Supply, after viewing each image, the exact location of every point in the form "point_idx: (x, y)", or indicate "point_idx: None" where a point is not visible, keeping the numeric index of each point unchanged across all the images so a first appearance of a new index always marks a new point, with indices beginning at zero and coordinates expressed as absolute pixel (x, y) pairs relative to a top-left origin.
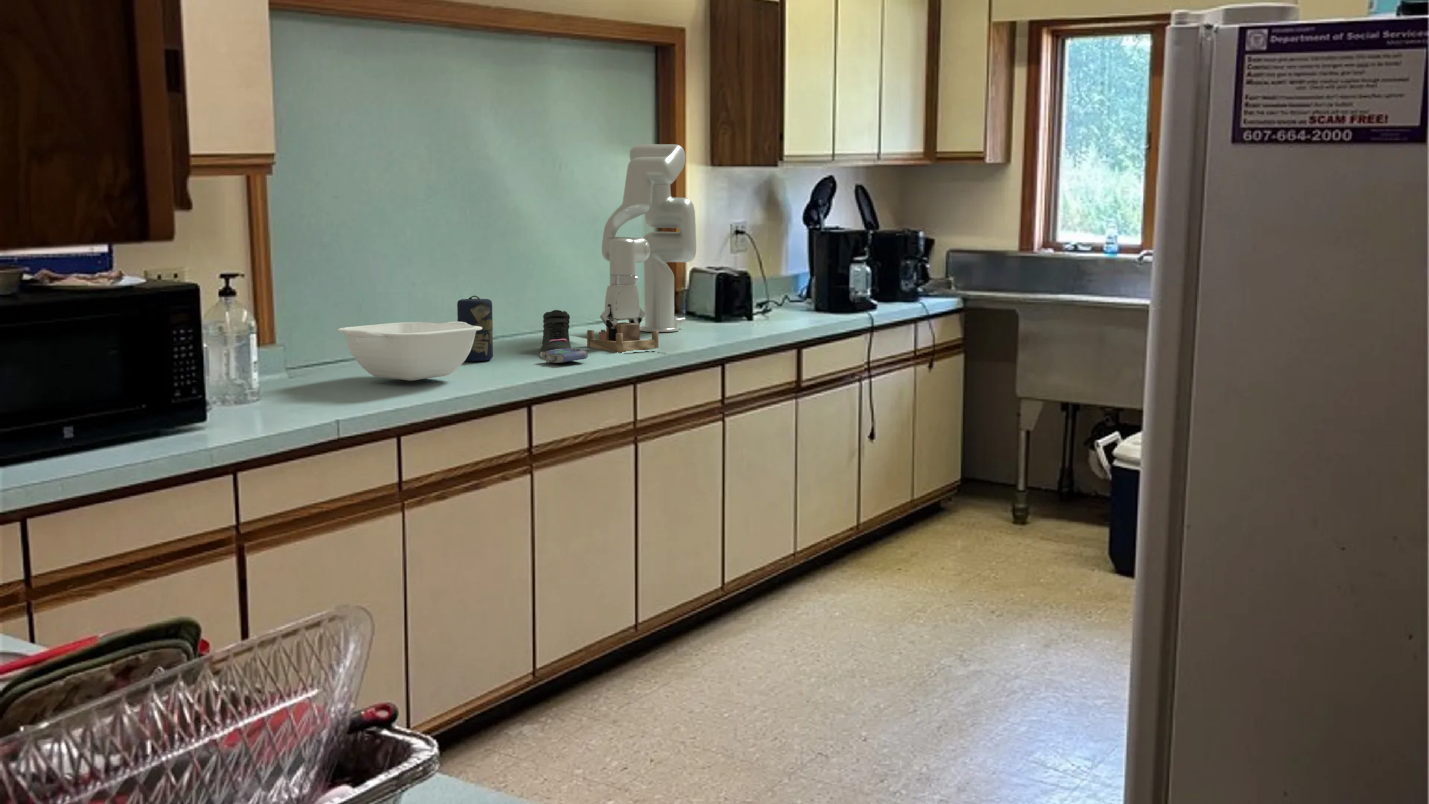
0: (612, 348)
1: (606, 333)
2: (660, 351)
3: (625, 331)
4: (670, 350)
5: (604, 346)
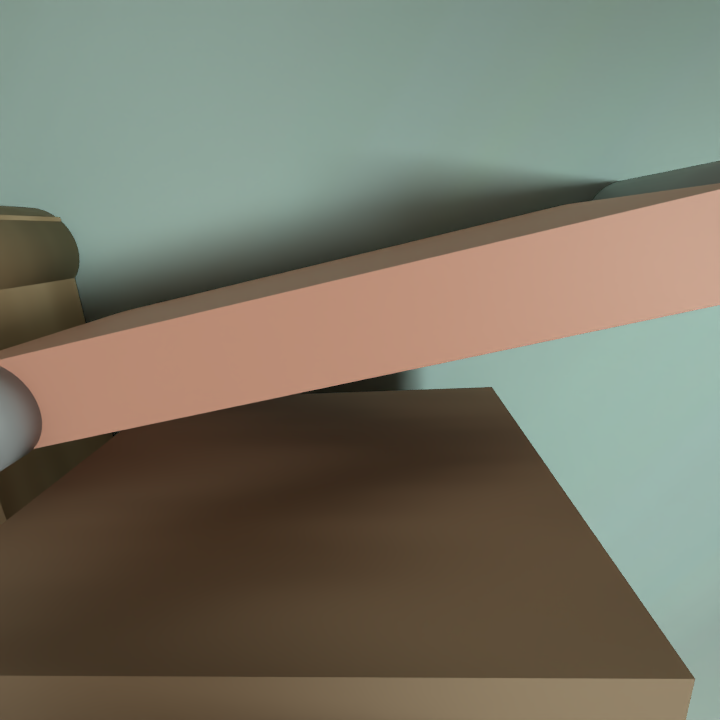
0: None
1: (54, 489)
2: None
3: None
4: (717, 704)
5: None
